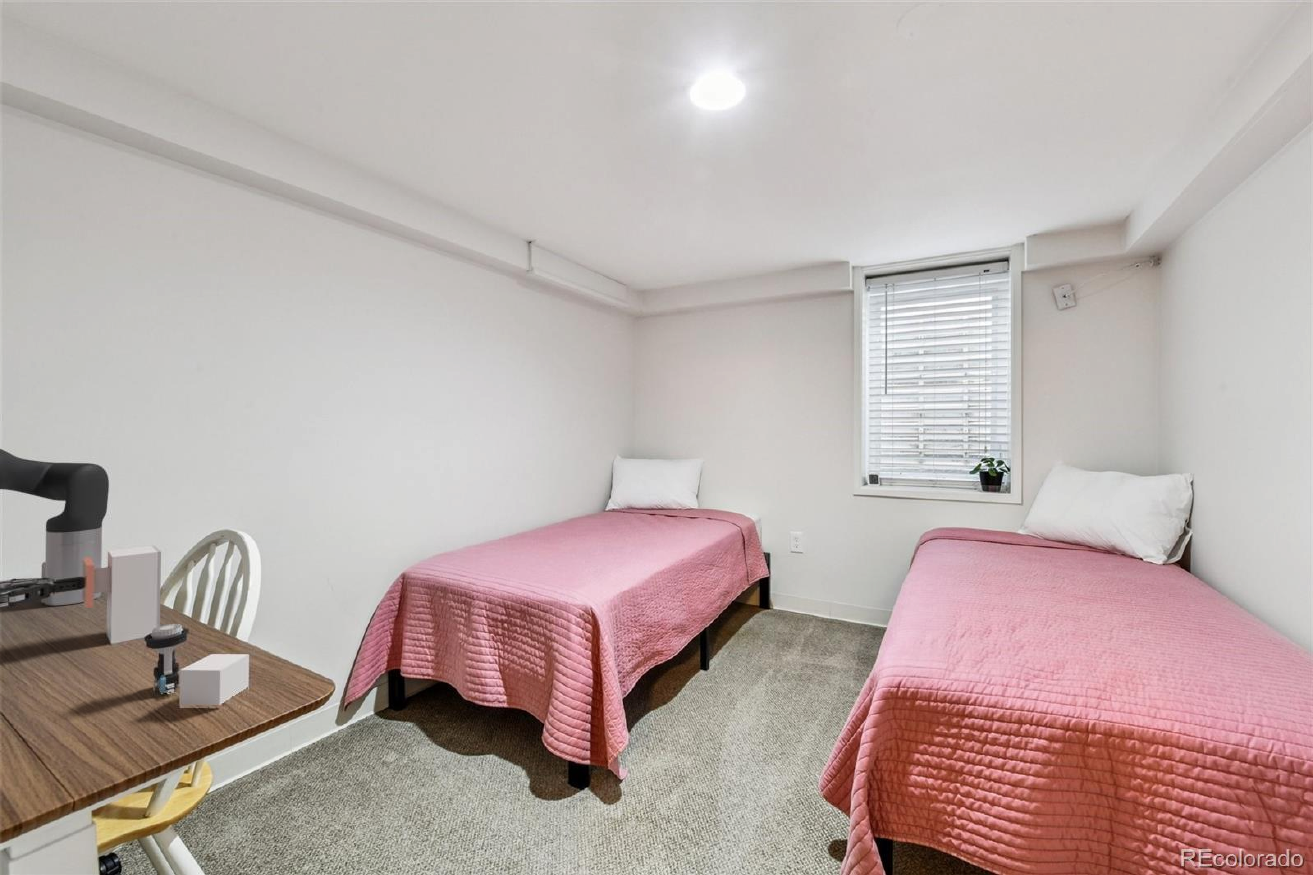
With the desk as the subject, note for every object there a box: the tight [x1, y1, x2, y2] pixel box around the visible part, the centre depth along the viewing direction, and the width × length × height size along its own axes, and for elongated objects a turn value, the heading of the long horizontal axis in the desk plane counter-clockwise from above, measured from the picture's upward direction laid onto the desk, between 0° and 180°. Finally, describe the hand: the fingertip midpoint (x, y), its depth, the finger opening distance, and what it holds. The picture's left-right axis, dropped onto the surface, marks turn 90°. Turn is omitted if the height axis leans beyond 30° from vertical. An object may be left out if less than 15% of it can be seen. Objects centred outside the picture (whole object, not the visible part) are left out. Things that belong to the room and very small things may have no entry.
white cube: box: [178, 653, 250, 706], centre depth 84 cm, size 6×6×6 cm
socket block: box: [106, 545, 162, 645], centre depth 109 cm, size 7×8×17 cm
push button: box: [143, 623, 190, 695], centre depth 87 cm, size 7×5×10 cm
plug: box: [82, 557, 111, 609], centre depth 107 cm, size 8×9×8 cm
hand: (84, 582), depth 104 cm, fingers closed
